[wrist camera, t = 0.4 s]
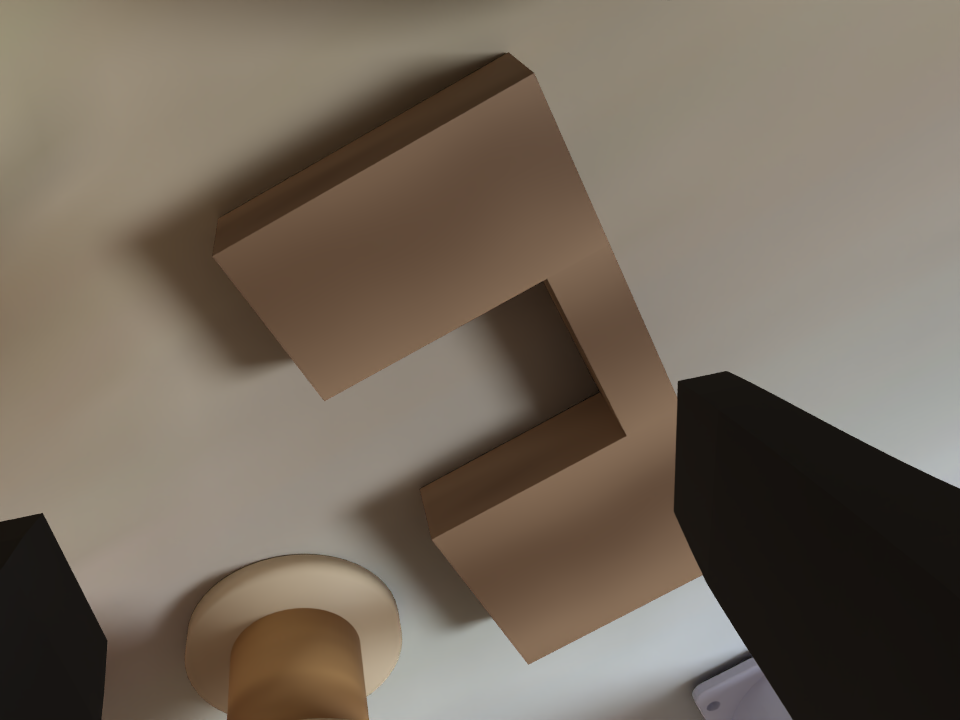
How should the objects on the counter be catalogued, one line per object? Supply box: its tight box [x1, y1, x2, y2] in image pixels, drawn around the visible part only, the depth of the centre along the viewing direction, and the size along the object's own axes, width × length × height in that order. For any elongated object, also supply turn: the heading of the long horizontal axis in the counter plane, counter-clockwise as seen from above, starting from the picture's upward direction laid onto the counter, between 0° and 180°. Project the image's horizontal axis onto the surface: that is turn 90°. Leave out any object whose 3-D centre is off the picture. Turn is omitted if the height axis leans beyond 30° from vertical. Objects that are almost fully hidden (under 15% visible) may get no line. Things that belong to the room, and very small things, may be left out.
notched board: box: [212, 52, 703, 665], centre depth 21 cm, size 15×7×2 cm, turn 26°
